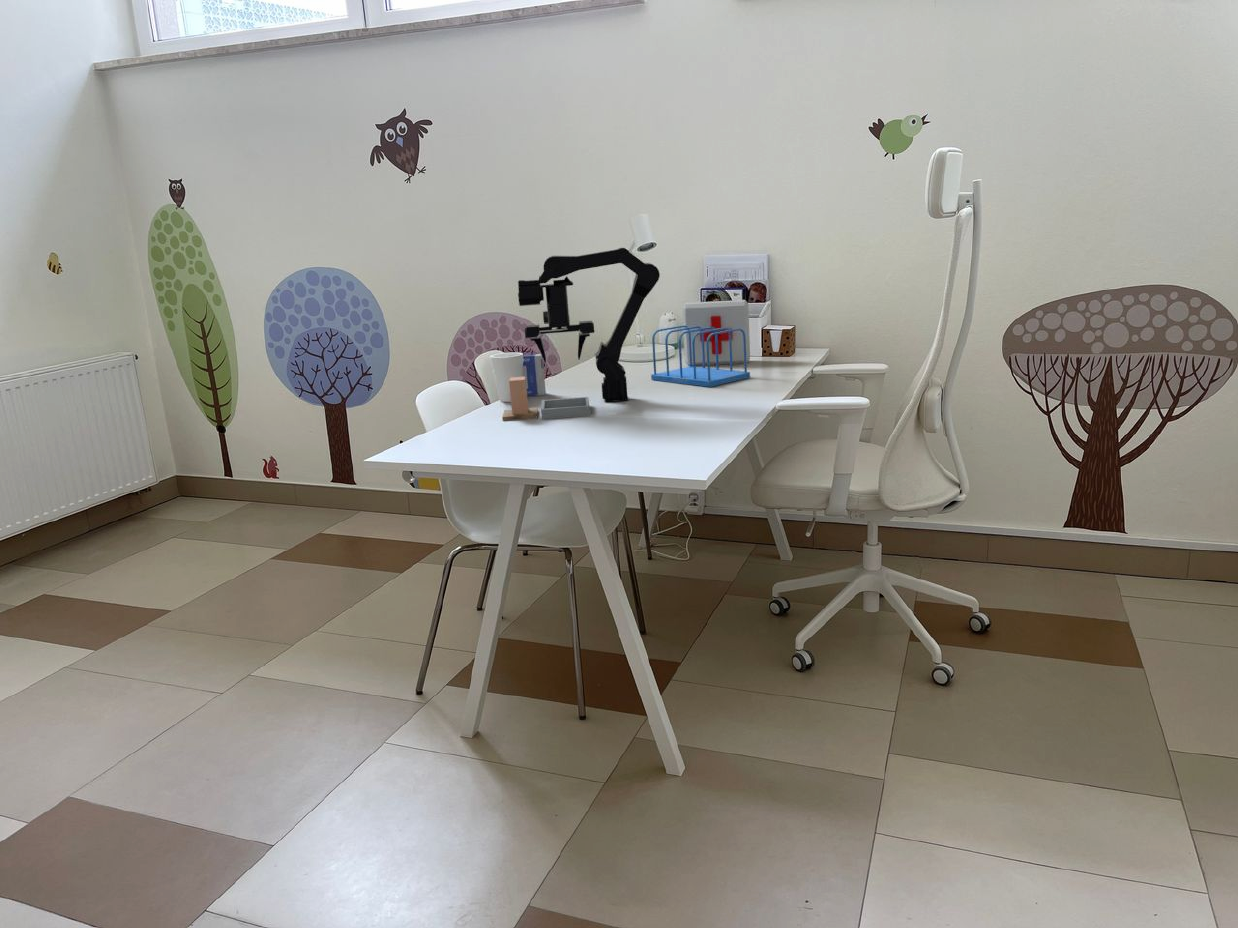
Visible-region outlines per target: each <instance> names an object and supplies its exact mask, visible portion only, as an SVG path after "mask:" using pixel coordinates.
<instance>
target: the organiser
mask: <svg viewBox="0 0 1238 928" xmlns="http://www.w3.org/2000/svg"><path fill="white" fill-rule="evenodd" d="M589 399H590V398H589V396H584V397H583V396H580V397H569V398H568V397H567V398H556V399H555V398H554V399H542V400H541V406H540V407H541V408H540V415H541V420H549V419H561V418H562V419H563V418H575V417H586V416H587V417H588V416H591V408H590V400H589Z"/></svg>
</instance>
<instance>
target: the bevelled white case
mask: <svg viewBox="0 0 1238 928" xmlns="http://www.w3.org/2000/svg"><path fill="white" fill-rule="evenodd" d="M749 307H750V306H749V302H747V300H746V299H737V300H718V301H697V302H696V301H695V302H686V303H685V304H684V305H683V307H682V308H681V310H682V311H681V312H682V326H683V325H685V326H687V327H694V326H699V327H701V328H706V327H714V328H715V329H719V328H728V329H729V330H732V329H742V330H743V331H744V332H745V337H746V364H747V363H748V362H749V361H750V359H751V346H750V345H751V344H750V343H751V340H750V338H751V337H750V313H749V312H750V311H749V310H750V309H749ZM683 328H685V327H682V329H683ZM695 329H699V328H694V329H690V330H695ZM707 330H713V329H706V330H703V331H707ZM682 331H683V332H684V331H688V330H682ZM721 331H726V330H719V331H717V332H721ZM683 332H682V333H683ZM698 332H701V330H700V331H694V332H690V334H691V353H692V367H693V347H692V341H693V337H694V335H695V334H696V333H698ZM712 333H715V332H714V331H713V332H708V333H704V352H705V366H708V365H707V338H708V336H709V335H710V334H712ZM717 338H718V365H730V348H729V333H728V332H726V333H721V334H717ZM731 342H732V365H738V364H739V365H740V364H744V341H743V333H742V332H741V331H740V330H738V331H732V332H731ZM683 347H684V363H685V364H686V365H687V367H690V353H689V334H688V333H685V334H684V335H683ZM709 361H710V366H711V365H712V366H714V365H716V341H715V335H712V336H711V337H710V339H709ZM695 364H696V366H703V353H702V334H699V335H697V336H696V338H695Z"/></svg>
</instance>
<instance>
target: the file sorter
mask: <svg viewBox="0 0 1238 928" xmlns="http://www.w3.org/2000/svg"><path fill="white" fill-rule="evenodd" d="M683 327H685V328H683ZM694 328H699V329H695V330H690V329H694ZM706 329H713V330H707V331H703V330H706ZM668 330H669V331H668ZM683 330H688V331H684V332H681V331H683ZM700 330H701V332H698V333H696V334H695V335H694V337H693V341H692V347H693V366H692V353H691V334H690V332H694V331H700ZM719 330H726V331H721V332H717V331H719ZM738 330H740V331H741V332H742V333H743V341H744V365H743V367H744V368H743V369H744V371H740V370H733V364H732V342H731V332H732V331H738ZM663 331H668V332H667V333H666V335H665V340H664V341H665V342H664V344H665V359H666V361H665V362H666V370H665V371H662V372H657V364H656V345H655V344H656V343H655V340H656V339H655V338H656V334H657V333H659V332H663ZM713 331H714V332H715V333H712V334H710V335H709V336H708V338H707V365H705V352H704V333H708V332H713ZM677 332H681V333H680V335H679V337H678V355H679V356H678V357H679V368H677V369H670V362H669V348H668V347H669V346H668V344H669V343H668V341H669V340H668V338H669V336H670V335H671V334H672V333H677ZM726 332H728V333H729V348H730V364H729V369H724V368H723V369H722V368H721V369H720V368H719V365H720V364H719V365H718V338H717V334H721V333H726ZM685 333H688V334H689V353H690V366H686V367H683V359H682V358H683V357H682V337H684V334H685ZM699 334H702V353H703V365H702V367H701V366H697V365H696V364H695V338H696V336H697V335H699ZM712 335H715V341H716V368H712V367H711V365H710V361H709V339H710V337H711V336H712ZM651 341H652V344H651V345H652V360H653V373H652V374H651V375H650V377H651V380H652V381H658V382H669V383H676V384H684V385H694V386H701V387H710V388H711V387H715V386H719V385H722V384H727V383H732V382H736V381H740V380H741V381H742V380H744V379H748V378H751V373H750V372H749V371H748V369H747V367H748V365H747V363H746V337H745V332H744V331H743V330H742V329H732V330H729V329H728V328H719V329H715V328H714V327H706V328H701V327H699V326H694V327H687V326H685V325H683V324H682V325H677V326H676V325H675V326H670V327H666V328H660V329H657V330H655V331H654V332H653V334H652V340H651ZM706 366H707V367H706Z"/></svg>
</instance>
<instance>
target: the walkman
mask: <svg viewBox="0 0 1238 928" xmlns="http://www.w3.org/2000/svg"><path fill="white" fill-rule="evenodd" d="M523 359H524V362H523V377H526V388H527V397H529V396H530V397H531V396H534V397H535V396H544V395H546V393H547V391H546V382H545V381H546V379H545V366H544V359H543V357H542V355H541V353H540V354H537V353H536V354H523Z"/></svg>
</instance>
